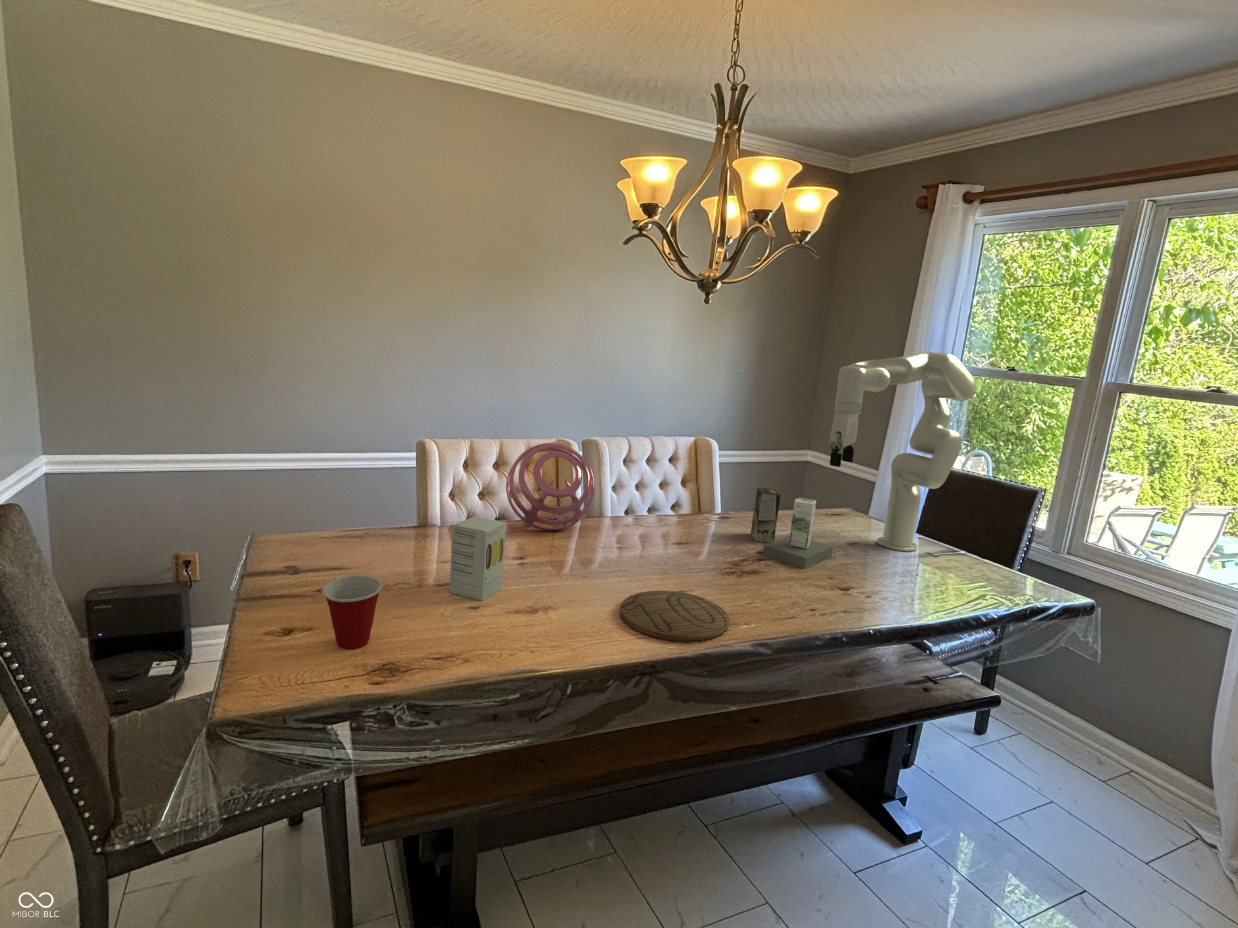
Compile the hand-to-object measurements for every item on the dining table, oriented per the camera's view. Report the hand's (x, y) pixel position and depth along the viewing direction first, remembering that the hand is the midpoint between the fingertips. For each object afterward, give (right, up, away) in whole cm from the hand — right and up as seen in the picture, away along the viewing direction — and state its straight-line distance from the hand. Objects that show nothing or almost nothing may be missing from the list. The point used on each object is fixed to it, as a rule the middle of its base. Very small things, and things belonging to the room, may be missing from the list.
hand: (841, 463), depth 207 cm
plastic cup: (-120, -35, -75) cm, 145 cm away
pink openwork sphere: (-90, -20, +10) cm, 93 cm away
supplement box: (-102, -31, -45) cm, 115 cm away
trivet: (-55, -36, -50) cm, 83 cm away
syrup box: (-12, -25, +2) cm, 28 cm away
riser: (-13, -29, +2) cm, 32 cm away
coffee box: (-20, -25, +18) cm, 37 cm away
